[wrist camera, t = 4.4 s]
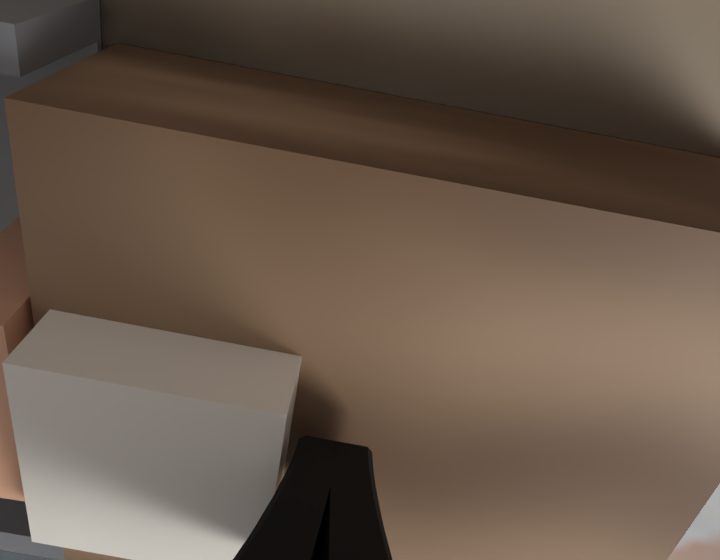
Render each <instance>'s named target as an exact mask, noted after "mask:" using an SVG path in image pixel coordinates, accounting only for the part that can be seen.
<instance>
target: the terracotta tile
mask: <svg viewBox="0 0 720 560" xmlns="http://www.w3.org/2000/svg"><path fill="white" fill-rule="evenodd" d="M33 328H34V322H33V315H32V307H31V300H30V292H29V284H28V277H27V269H26V262H25V254H24V247H23V239H22V231H21V224H20V216H19V217H18V218H17V219H16V220H15V221H14V222H13V223H11V224H10V225H9V226H8V227H7V228H6V229H5V230H3V231H2V232H1V233H0V498H5V499H12V500H18V501H25V498H24V492H23V486H22V479H21V473H20V467H19V461H18V455H17V449H16V443H15V437H14V431H13V425H12V419H11V413H10V407H9V401H8V395H7V389H6V383H5V377H4V371H3V365H2V362H3V361H4V360H5V359H6V358H7V357H8V356H9V355H10V354H11V352H12V351H13V350H14V349H15V348H16V347H17V346H18V345H19V343H20V342H21V341H22V340H23V339H24V338H25V337H26V336H27V334H28V333H29V332H30V331H31V330H32V329H33Z"/></svg>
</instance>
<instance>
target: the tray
mask: <svg viewBox="0 0 720 560" xmlns="http://www.w3.org/2000/svg"><path fill="white" fill-rule="evenodd" d="M101 50H102V43H101V22H100V1H99V0H0V233H1V232H2V231H3V230H5V229H6V228H7V227H8V226H9V225H10V224H11V223H13V222H14V221H15V220H16V219H17V218H18V217H19V209H18V201H17V193H16V186H15V178H14V171H13V163H12V155H11V148H10V140H9V133H8V125H7V117H6V110H5V102H4V98H5V97H7V96H9V95H11V94H13V93H15V92H17V91H19V90H21V89H23V88H25V87H27V86H29V85H31V84H33V83H35V82H37V81H39V80H41V79H44V78H46V77H48V76H50V75H52V74H54V73H56V72H58V71H60V70H62V69H64V68H66V67H68V66H70V65H72V64H74V63H76V62H78V61H80V60H82V59H84V58H86V57H88V56H90V55H92V54H95V53H97V52H99V51H101ZM0 550H3V551H9V552H14V553H20V554H26V555H31V556H37V557H43V558H48V559H54V560H65V558H64V550H63V547H58V546H53V545H47V544H42V543H36V542H32V540H31V534H30V528H29V522H28V516H27V510H26V504H25V501H18V500H12V499H5V498H0Z"/></svg>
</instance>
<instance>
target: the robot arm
mask: <svg viewBox="0 0 720 560" xmlns="http://www.w3.org/2000/svg"><path fill="white" fill-rule="evenodd" d="M233 560H392V556H391V552H390V548H389V544H388V541H387V537H386V533H385V529H384V525H383V521H382V516H381V511H380V506H379V501H378V496H377V491H376V485H375V478H374V469H373V457H372V451H371V450H370V449H369V448H368V447H366V446H361V445H355V444H350V443H344V442H339V441H334V440H328V439H323V438H317V437H312V436H303V437H301V438H299V440H298V443H297V446H296V449H295V452H294V455H293V457H292V459H291V462H290V464H289V466H288V468H287V471H286V473H285V475H284V477H283V479H282V481H281V482H280V484H279V486H278V488H277V490H276V492H275V494H274V496H273V497H272V499H271V501H270V502H269V504H268V506H267V507H266V509H265V511H264V512H263V514H262V516H261V517H260V519H259V521H258V522H257V524H256V526H255V527H254V529H253V531H252V532H251V534H250V535H249V537H248V538H247V540H246V541H245V543H244V544H243V545H242V547H241V548H240V550H239V551H238V553H237V554H236V556H235V557H234V559H233Z"/></svg>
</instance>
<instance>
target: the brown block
mask: <svg viewBox="0 0 720 560" xmlns="http://www.w3.org/2000/svg"><path fill="white" fill-rule="evenodd" d="M4 102H5V110H6V117H7V125H8V133H9V140H10V148H11V155H12V163H13V171H14V178H15V186H16V193H17V201H18V209H19V216H20V224H21V231H22V239H23V247H24V254H25V262H26V269H27V277H28V284H29V292H30V300H31V307H32V315H33V322H34V327H35V326H36V324H37V323H38V322H39V321H40V320H41V319H42V318H43V317H44V315H45V314H46V313H47V312H48V311H49V310H50V309H51V310H56V311H62V312H67V313H72V314H78V315H83V316H89V317H94V318H99V319H105V320H110V321H115V322H121V323H126V324H132V325H137V326H142V327H148V328H153V329H158V330H164V331H169V332H174V333H180V334H185V335H191V336H196V337H201V338H207V339H212V340H217V341H223V342H228V343H234V344H239V345H244V346H250V347H255V348H260V349H266V350H271V351H277V352H282V353H287V354H293V355H298V356H302V359H301V366H300V372H299V378H298V385H297V391H296V398H295V404H294V411H293V417H292V423H291V430H290V436H289V443H288V449H287V455H286V462H285V468H284V475H285V473H286V471H287V468H288V466H289V464H290V462H291V459H292V457H293V455H294V452H295V449H296V446H297V443H298V440H299V438H301V437H303V436H312V437H317V438H323V439H328V440H334V441H339V442H344V443H350V444H355V445H361V446H366V447H368V448H369V449H370V450H371V451H372V457H373V469H374V478H375V485H376V491H377V496H378V501H379V506H380V511H381V516H382V521H383V525H384V529H385V533H386V537H387V541H388V544H389V548H390V552H391V556H392V560H667V559H668V557H669V556H670V554H671V553H672V551H673V550H674V549H675V547H676V546H677V544H678V543H679V541H680V540H681V538H682V537H683V536H684V534H685V533H686V531H687V530H688V528H689V527H690V525H691V524H692V522H693V521H694V520H695V518H696V517H697V515H698V514H699V512H700V511H701V509H702V508H703V506H704V505H705V504H706V502H707V501H708V499H709V498H710V496H711V495H712V493H713V492H714V491H715V489H716V488H717V486H718V485H719V483H720V158H719V157H714V156H708V155H703V154H698V153H693V152H687V151H682V150H677V149H672V148H666V147H661V146H656V145H651V144H645V143H640V142H635V141H630V140H624V139H619V138H614V137H609V136H603V135H598V134H593V133H588V132H582V131H577V130H572V129H567V128H561V127H556V126H551V125H546V124H540V123H535V122H530V121H525V120H519V119H514V118H509V117H504V116H498V115H493V114H488V113H483V112H477V111H472V110H467V109H462V108H456V107H451V106H446V105H440V104H435V103H430V102H425V101H419V100H414V99H409V98H404V97H398V96H393V95H388V94H383V93H377V92H372V91H367V90H362V89H356V88H351V87H346V86H341V85H335V84H330V83H325V82H320V81H314V80H309V79H304V78H299V77H293V76H288V75H283V74H278V73H272V72H267V71H262V70H257V69H251V68H246V67H241V66H236V65H230V64H225V63H220V62H215V61H209V60H204V59H199V58H194V57H188V56H183V55H178V54H172V53H167V52H162V51H157V50H151V49H146V48H141V47H136V46H130V45H125V44H120V43H115V44H113V45H111V46H109V47H107V48H105V49H103V50H101V51H99V52H97V53H95V54H92V55H90V56H88V57H86V58H84V59H82V60H80V61H78V62H76V63H74V64H72V65H70V66H68V67H66V68H64V69H62V70H60V71H58V72H56V73H54V74H52V75H50V76H48V77H46V78H44V79H41V80H39V81H37V82H35V83H33V84H31V85H29V86H27V87H25V88H23V89H21V90H19V91H17V92H15V93H13V94H11V95H9V96H7V97H5V98H4ZM284 475H283V477H284ZM63 550H64V558H65V560H131V559H125V558H120V557H114V556H108V555H103V554H97V553H92V552H86V551H81V550H75V549H69V548H64V547H63Z"/></svg>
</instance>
